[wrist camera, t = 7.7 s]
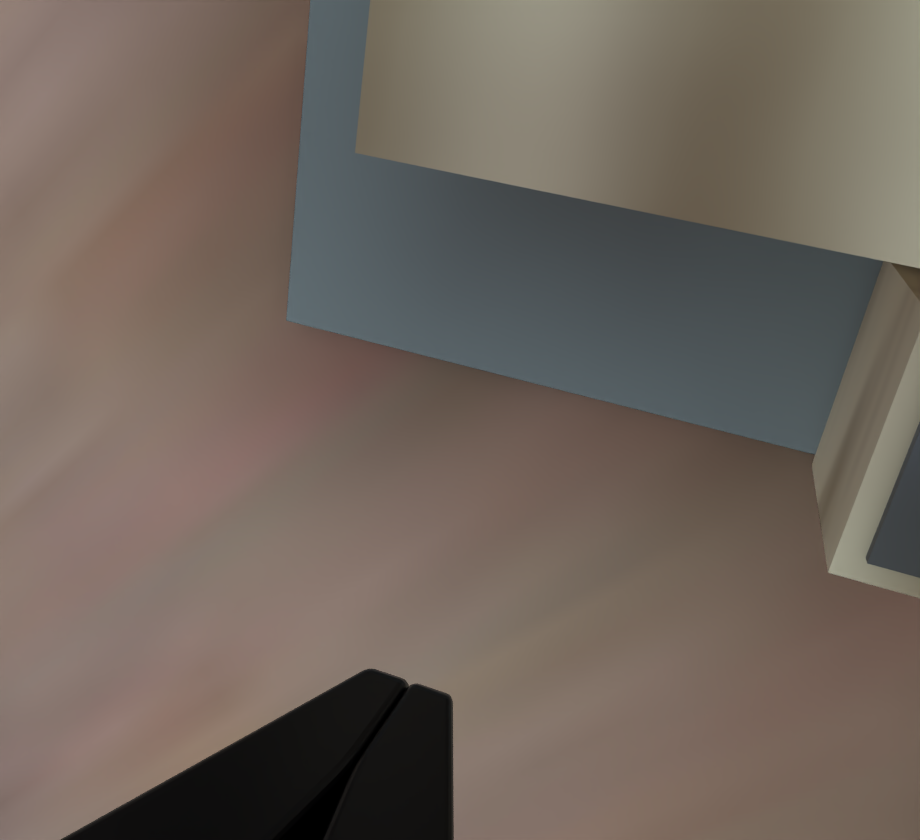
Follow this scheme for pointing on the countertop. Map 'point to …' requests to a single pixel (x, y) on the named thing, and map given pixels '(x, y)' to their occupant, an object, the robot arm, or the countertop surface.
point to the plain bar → (666, 108)
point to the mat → (560, 278)
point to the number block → (876, 445)
